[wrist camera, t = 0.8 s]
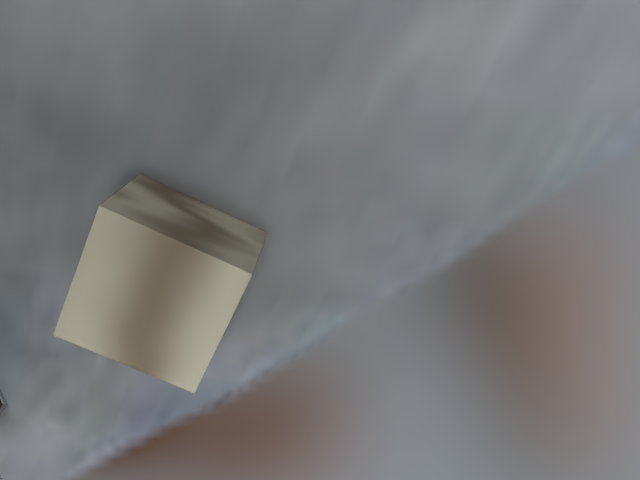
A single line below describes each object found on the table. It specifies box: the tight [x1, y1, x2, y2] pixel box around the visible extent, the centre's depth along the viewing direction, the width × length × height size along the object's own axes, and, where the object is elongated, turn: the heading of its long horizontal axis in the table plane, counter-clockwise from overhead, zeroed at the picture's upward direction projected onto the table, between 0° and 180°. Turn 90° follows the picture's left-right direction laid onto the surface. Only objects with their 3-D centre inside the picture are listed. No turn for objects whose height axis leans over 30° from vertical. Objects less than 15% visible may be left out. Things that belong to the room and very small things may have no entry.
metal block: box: [53, 174, 267, 393], centre depth 31 cm, size 8×8×6 cm
